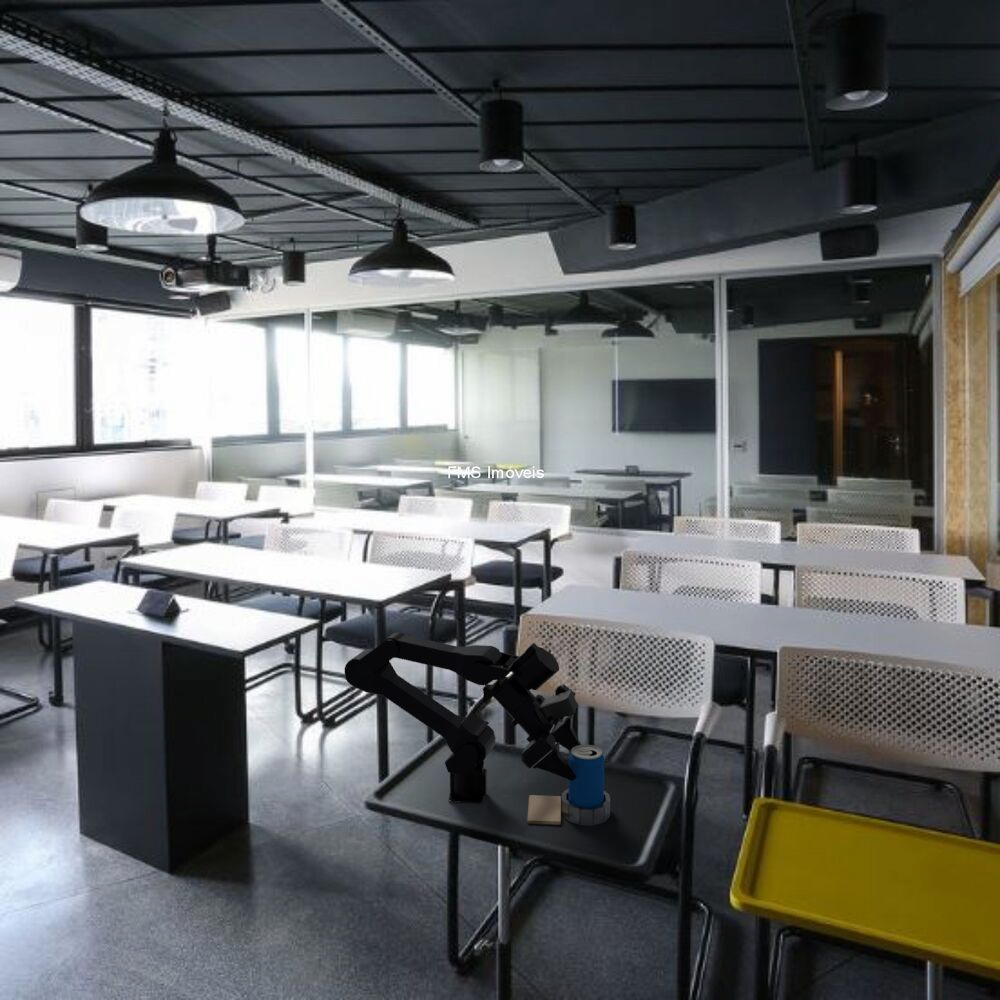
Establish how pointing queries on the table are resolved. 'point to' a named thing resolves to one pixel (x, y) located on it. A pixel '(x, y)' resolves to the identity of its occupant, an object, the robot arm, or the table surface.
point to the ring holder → (585, 811)
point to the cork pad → (544, 810)
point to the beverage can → (586, 776)
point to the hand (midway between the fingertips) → (579, 767)
